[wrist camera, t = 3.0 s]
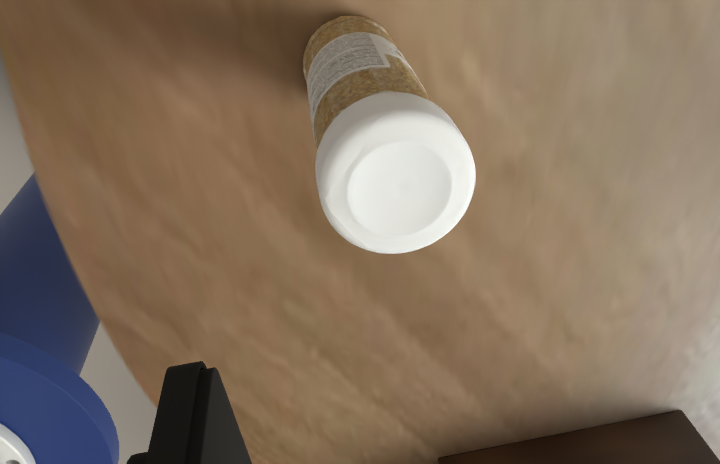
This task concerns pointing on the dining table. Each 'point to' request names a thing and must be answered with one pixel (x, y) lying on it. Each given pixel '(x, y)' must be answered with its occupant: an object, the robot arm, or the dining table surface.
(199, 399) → the robot arm
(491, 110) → the dining table surface
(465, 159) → the sprinkles bottle
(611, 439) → the shelf
